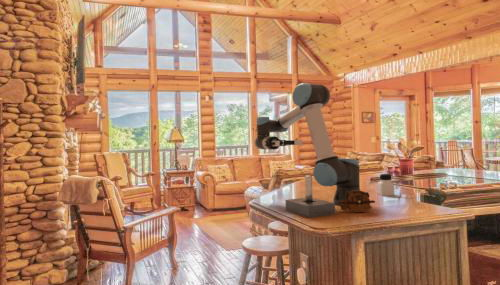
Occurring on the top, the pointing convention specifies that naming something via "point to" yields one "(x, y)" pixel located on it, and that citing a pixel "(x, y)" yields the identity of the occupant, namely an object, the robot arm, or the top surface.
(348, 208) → the wooden carving
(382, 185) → the medicine bottle
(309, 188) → the pin
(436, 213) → the top surface
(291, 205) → the pin block
